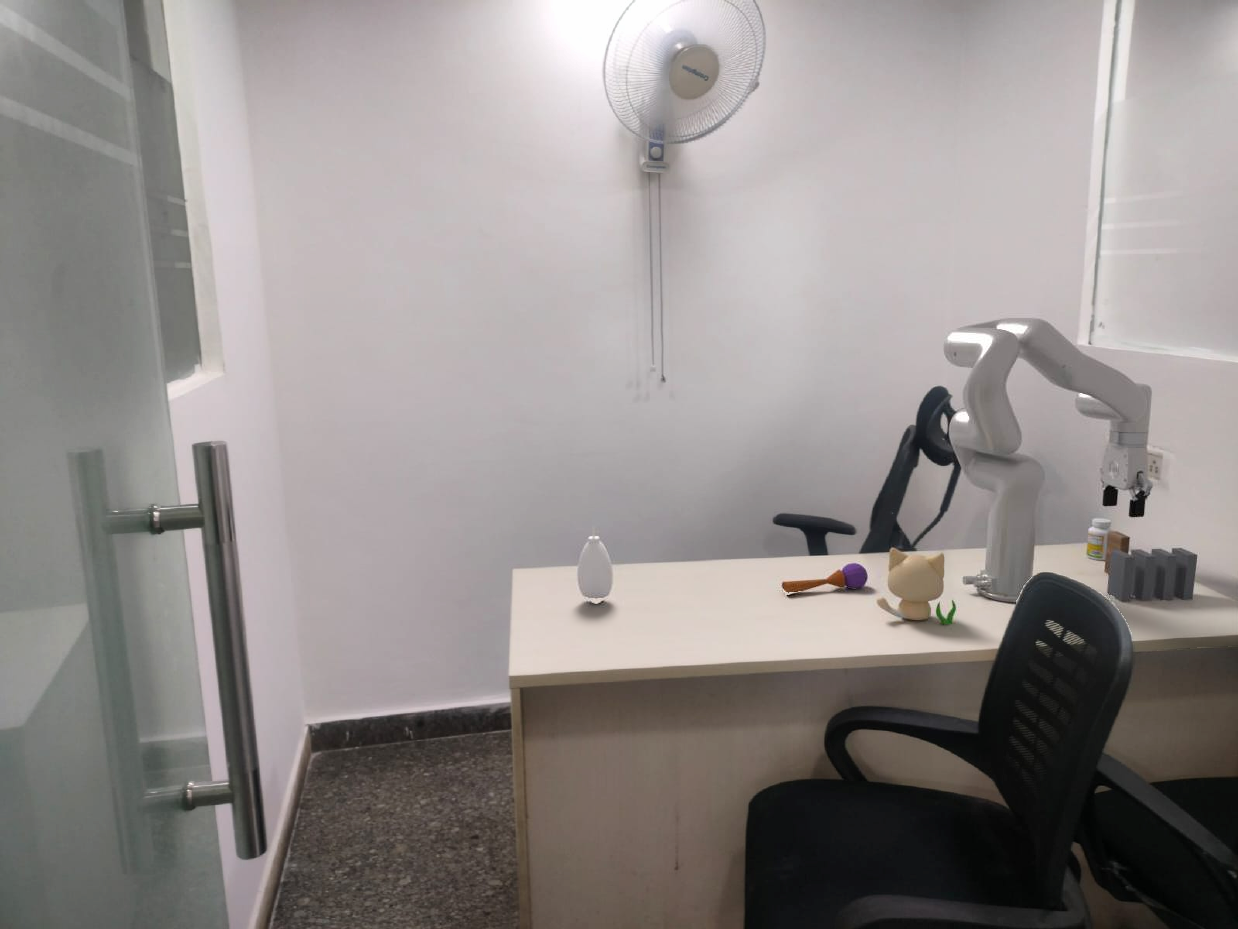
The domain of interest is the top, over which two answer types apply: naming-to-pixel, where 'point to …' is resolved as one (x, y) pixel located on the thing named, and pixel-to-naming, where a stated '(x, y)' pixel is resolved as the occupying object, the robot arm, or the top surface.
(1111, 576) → the domino
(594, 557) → the white tall oval piece
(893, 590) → the kitten
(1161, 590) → the domino
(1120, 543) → the domino
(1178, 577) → the domino
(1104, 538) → the supplement bottle
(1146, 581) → the domino
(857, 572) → the kendama
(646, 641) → the top surface
